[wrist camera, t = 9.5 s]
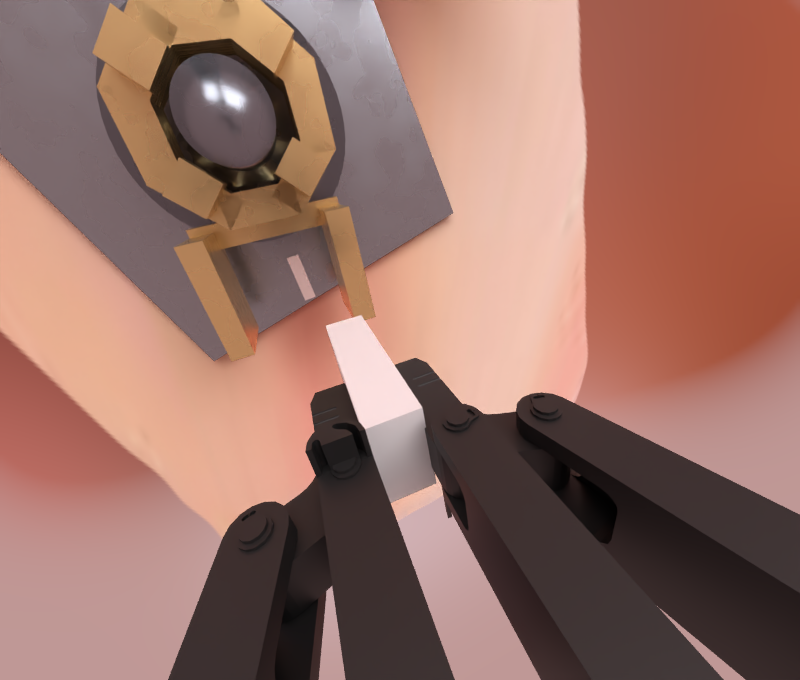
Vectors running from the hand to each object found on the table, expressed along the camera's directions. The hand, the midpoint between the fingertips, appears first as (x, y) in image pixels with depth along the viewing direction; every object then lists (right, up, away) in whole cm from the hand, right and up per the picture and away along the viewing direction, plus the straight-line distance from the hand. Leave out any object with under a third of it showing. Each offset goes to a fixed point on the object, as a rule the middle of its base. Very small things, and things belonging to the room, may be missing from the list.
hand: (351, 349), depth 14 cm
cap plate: (-10, +15, +11) cm, 21 cm away
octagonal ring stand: (-8, +11, +9) cm, 16 cm away
